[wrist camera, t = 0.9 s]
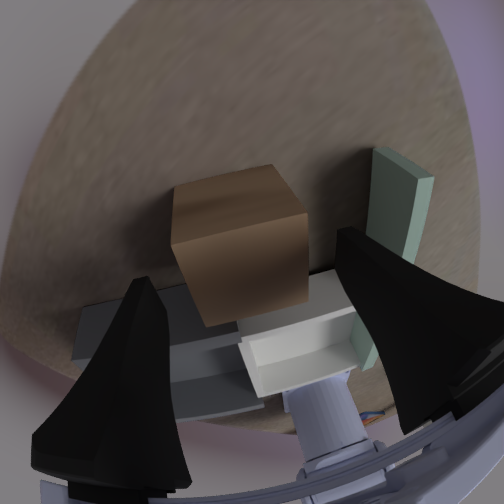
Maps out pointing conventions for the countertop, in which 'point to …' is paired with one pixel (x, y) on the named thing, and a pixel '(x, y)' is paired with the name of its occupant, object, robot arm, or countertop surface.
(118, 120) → the countertop surface
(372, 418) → the smartphone
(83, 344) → the gray open box
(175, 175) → the countertop surface
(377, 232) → the box with green panel
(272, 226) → the walnut block
